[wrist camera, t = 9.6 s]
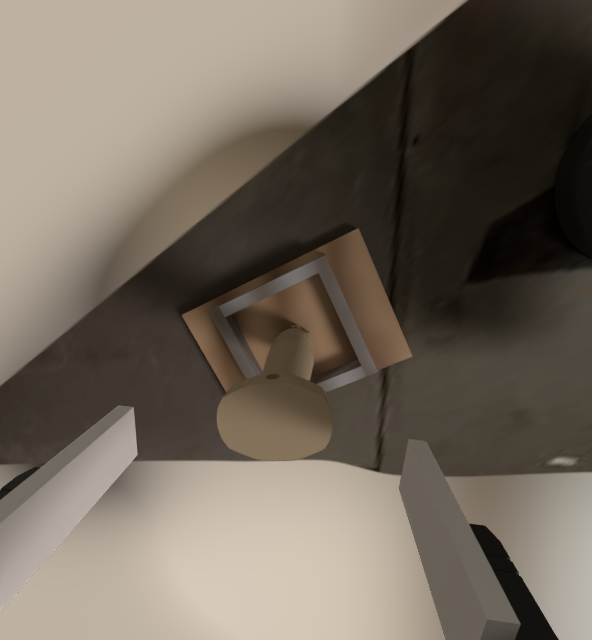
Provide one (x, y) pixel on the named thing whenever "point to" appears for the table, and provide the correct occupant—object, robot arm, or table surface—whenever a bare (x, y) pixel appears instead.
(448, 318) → the table surface
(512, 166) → the table surface
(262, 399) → the handle
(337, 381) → the collar board
